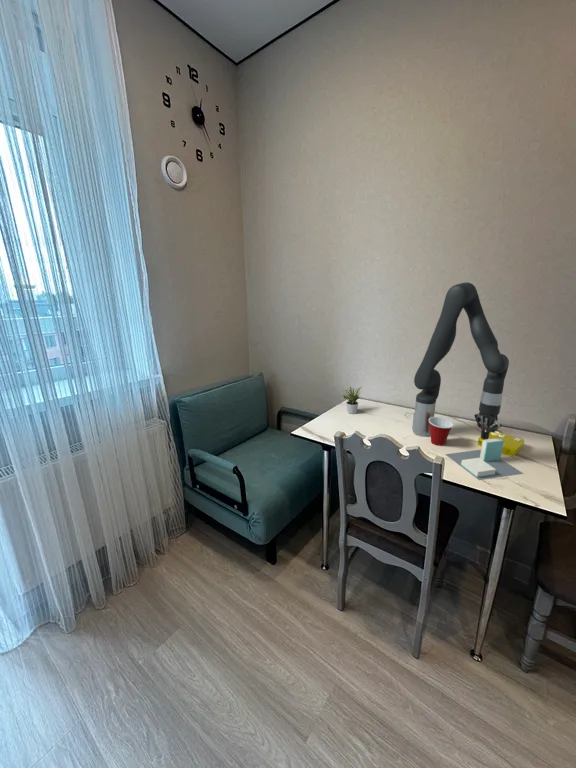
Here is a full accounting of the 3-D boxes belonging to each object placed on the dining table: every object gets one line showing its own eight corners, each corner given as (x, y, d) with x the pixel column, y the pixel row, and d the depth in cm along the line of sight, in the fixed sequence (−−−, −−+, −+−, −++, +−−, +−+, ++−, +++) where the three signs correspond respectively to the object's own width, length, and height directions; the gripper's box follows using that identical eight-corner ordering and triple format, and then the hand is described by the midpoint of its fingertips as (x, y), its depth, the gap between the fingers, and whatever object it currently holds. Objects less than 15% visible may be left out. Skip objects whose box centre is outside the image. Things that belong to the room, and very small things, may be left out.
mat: (445, 455, 141) (445, 454, 141) (484, 450, 145) (484, 448, 144) (478, 481, 123) (479, 480, 122) (523, 475, 126) (523, 473, 126)
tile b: (479, 458, 137) (482, 440, 134) (495, 456, 138) (499, 437, 135) (484, 461, 134) (487, 442, 132) (500, 459, 136) (504, 440, 133)
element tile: (475, 447, 149) (477, 437, 147) (488, 436, 158) (489, 428, 156) (513, 459, 138) (515, 449, 136) (524, 447, 147) (526, 438, 145)
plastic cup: (443, 452, 144) (446, 428, 140) (421, 443, 152) (423, 420, 149) (455, 445, 150) (458, 421, 147) (433, 437, 158) (436, 414, 155)
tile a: (461, 460, 132) (477, 472, 123) (478, 457, 133) (495, 469, 124) (461, 465, 132) (477, 477, 124) (477, 462, 134) (494, 474, 125)
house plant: (351, 405, 202) (352, 381, 197) (369, 411, 192) (370, 386, 187) (336, 411, 193) (336, 386, 188) (354, 418, 183) (355, 391, 178)
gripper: (471, 397, 139) (465, 433, 144) (495, 408, 126) (488, 447, 132) (486, 395, 140) (480, 431, 145) (511, 406, 128) (504, 444, 133)
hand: (484, 438), depth 138 cm, fingers closed
